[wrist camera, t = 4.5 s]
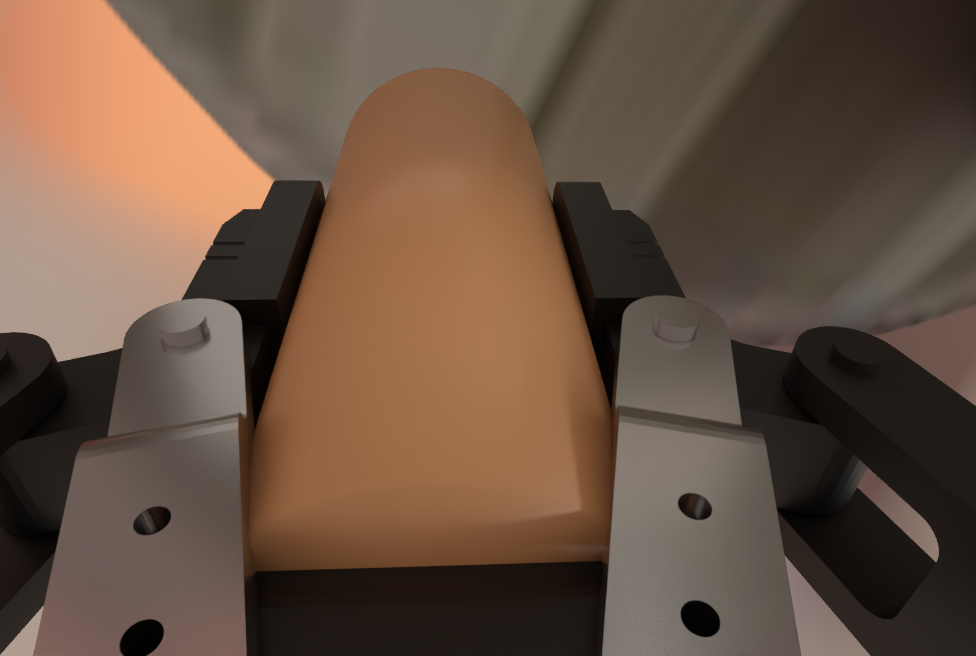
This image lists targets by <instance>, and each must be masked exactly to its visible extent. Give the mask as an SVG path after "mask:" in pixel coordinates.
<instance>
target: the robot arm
mask: <svg viewBox="0 0 976 656" xmlns="http://www.w3.org/2000/svg"><path fill="white" fill-rule="evenodd" d="M552 204H553V208H554V211H555V215H556V218H557V222H558V225H559V229H560V232H561V236H562V240H563V243H564V247H565V250H566V254H567V257H568V261H569V264H570V268H571V271H572V275H573V278H574V282H575V285H576V289H577V292H578V296H579V299H580V303H581V306H582V310H583V313H584V317H585V320H586V324H587V327H588V331H589V334H590V338H591V341H592V345H593V348H594V352H595V355H596V359H597V362H598V366H599V369H600V373H601V376H602V380H603V383H604V387H605V391H606V394H607V398H608V401H609V405H610V408H611V415H612V455H611V485H610V509H609V526H608V530H607V535H606V539H605V544H604V552H603V561H581V562H548V563H515V564H483V565H450V566H417V567H384V568H351V569H318V570H285V571H255V563H254V554H253V551H252V548H251V544H250V541H249V494H250V469H251V454H252V444H253V437H254V431H255V428H256V425H257V421H258V418H259V415H260V412H261V408H262V405H263V402H264V399H265V396H266V392H267V389H268V386H269V383H270V379H271V376H272V373H273V370H274V366H275V363H276V360H277V357H278V354H279V350H280V347H281V344H282V341H283V337H284V334H285V331H286V328H287V325H288V321H289V318H290V315H291V312H292V308H293V305H294V302H295V299H296V295H297V292H298V289H299V286H300V283H301V279H302V276H303V273H304V270H305V266H306V263H307V260H308V257H309V253H310V250H311V247H312V244H313V241H314V237H315V234H316V231H317V228H318V224H319V221H320V218H321V215H322V211H323V208H324V205H325V196H324V190H323V186H322V183H321V182H320V181H274V182H273V184H272V186H271V189H270V190H269V193H268V195H267V197H266V199H265V201H264V203H263V205H262V208H261V209H244V210H242V211H241V212H239V213H238V214H237V215H235V216H234V217H232V218H231V219H230V220H228V221H227V222H225V223H224V224H223V225H222V227H221V228H220V230H219V232H218V234H217V236H216V238H215V239H214V241H213V245H212V246H211V247H210V249H209V250H208V252H207V254H206V256H205V257H206V260H203V261H202V263H201V265H200V267H199V269H198V271H197V272H196V274H195V276H194V278H193V280H192V282H191V284H190V285H189V287H188V289H187V291H186V293H185V295H184V297H183V298H182V300H181V301H176V302H172V303H169V304H165V305H163V306H160V307H157V308H156V309H153V310H151V311H149V312H148V313H146V314H145V315H143V316H141V317H140V318H139V319H138V320H136V321H135V322H134V323H133V324H132V325H131V327H130V328H129V329H128V331H127V333H126V335H125V338H124V343H123V348H121V349H118V350H113V351H110V352H105V353H100V354H96V355H90V356H86V357H81V358H76V359H71V360H67V361H61V362H57V360H56V358H55V356H54V354H53V351H52V349H51V347H50V345H49V344H48V342H47V341H46V340H45V339H43V338H41V337H39V336H36V335H33V334H28V333H16V332H11V333H0V654H1V653H2V652H3V651H4V650H5V648H6V647H7V646H8V645H9V644H10V643H11V642H12V641H13V640H14V638H15V637H16V636H17V635H18V634H19V633H20V632H21V630H22V629H23V628H24V627H25V626H26V625H27V624H28V622H29V621H30V620H31V619H32V618H33V617H34V616H35V614H36V613H37V612H38V611H39V610H40V609H41V607H42V606H43V605H44V608H43V612H42V617H41V621H40V626H39V631H38V636H37V641H36V645H35V649H34V654H33V656H801V651H800V645H799V640H798V633H797V627H796V621H795V615H794V609H793V604H792V597H791V591H790V586H789V580H788V574H787V568H786V562H785V556H786V557H787V558H788V560H789V561H790V562H791V563H792V564H793V565H794V567H795V568H796V569H797V570H798V571H799V572H800V574H801V575H802V576H803V577H804V578H805V579H806V581H807V582H808V583H809V584H810V585H811V586H812V588H813V589H814V590H815V591H816V592H817V593H818V595H819V596H820V597H821V598H822V599H823V600H824V602H825V603H826V604H827V605H828V606H829V607H830V609H831V610H832V611H833V612H834V613H835V615H836V616H837V617H838V618H839V619H840V620H841V622H842V623H843V624H844V625H845V626H846V627H847V629H848V630H849V631H850V632H851V633H852V634H853V636H854V637H855V638H856V639H857V640H858V641H859V643H860V644H861V645H862V646H863V647H864V648H865V650H866V651H867V652H868V653H869V654H870V655H871V656H976V406H975V405H974V404H972V403H971V402H969V401H968V400H967V399H965V398H963V397H962V396H961V395H960V394H958V393H957V392H955V391H954V390H953V389H951V388H950V387H949V386H947V385H946V384H944V383H943V382H942V381H940V380H939V379H937V378H936V377H935V376H933V375H932V374H930V373H929V372H928V371H926V370H925V369H924V368H922V367H921V366H919V365H918V364H917V363H915V362H914V361H912V360H911V359H910V358H908V357H907V356H905V355H904V354H903V353H901V352H900V351H898V350H897V349H896V348H894V347H893V346H891V345H890V344H888V343H887V342H885V341H883V340H881V339H879V338H877V337H874V336H872V335H870V334H867V333H864V332H861V331H858V330H854V329H849V328H843V327H833V326H826V327H817V328H813V329H810V330H807V331H805V332H804V333H802V334H801V335H800V336H799V337H798V339H797V341H796V344H795V346H794V349H793V351H792V353H787V352H782V351H777V350H771V349H767V348H762V347H757V346H752V345H748V344H743V343H740V342H737V341H734V340H731V339H730V333H729V329H728V327H727V325H726V323H725V321H724V320H723V319H722V318H721V317H720V316H719V315H718V314H717V313H716V312H714V311H713V310H711V309H710V308H708V307H706V306H704V305H702V304H700V303H698V302H695V301H693V300H689V299H686V297H685V295H684V293H683V291H682V289H681V287H680V285H679V283H678V282H677V280H676V278H675V276H674V274H673V272H672V270H671V268H670V266H669V264H668V262H667V260H666V259H664V254H663V252H662V250H661V248H660V246H659V245H657V240H656V238H655V236H654V234H653V232H652V230H651V228H650V226H649V225H648V224H647V223H646V222H644V221H643V220H642V219H640V218H639V217H638V216H636V215H635V214H634V213H632V212H631V211H630V210H612V208H611V206H610V204H609V201H608V199H607V197H606V194H605V192H604V190H603V188H602V185H601V183H600V182H557V183H556V185H555V188H554V194H553V203H552ZM868 468H869V469H870V470H872V471H873V472H874V473H875V474H876V475H877V476H878V477H879V478H880V479H881V480H883V481H884V482H885V483H886V484H887V485H888V486H889V487H890V488H891V489H892V490H893V491H895V492H896V493H897V494H898V495H899V496H900V497H901V498H902V499H903V500H905V502H907V503H908V504H909V505H910V506H911V507H912V508H913V509H914V510H915V511H916V512H918V513H919V514H920V515H921V516H922V517H923V518H924V519H925V520H926V522H927V523H928V524H929V525H930V527H931V529H932V530H933V532H934V534H935V536H936V538H937V542H938V546H939V557H938V560H937V562H935V561H934V560H933V559H932V558H931V557H930V556H929V555H928V554H926V553H925V552H924V551H923V550H922V549H921V548H920V547H919V546H918V545H917V544H916V543H915V542H914V541H913V540H912V539H911V538H910V537H909V536H908V535H907V534H905V533H904V532H903V531H902V530H901V529H900V528H899V527H898V526H897V525H896V524H895V523H894V522H893V521H892V520H891V519H890V518H889V517H888V516H887V515H886V514H885V513H884V512H882V511H881V510H880V509H879V508H878V507H877V506H876V505H875V504H874V503H873V502H872V501H871V500H870V499H869V498H868V497H867V496H866V495H865V494H864V493H862V491H860V490H859V489H858V488H857V486H858V485H859V483H860V481H861V479H862V478H863V476H864V474H865V472H866V470H867V469H868ZM784 555H785V556H784Z"/></svg>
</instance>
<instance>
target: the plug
mask: <svg viewBox="0 0 976 656" xmlns="http://www.w3.org/2000/svg"><path fill="white" fill-rule="evenodd" d="M611 455H612V415H611V408H610V405H609V401H608V398H607V394H606V391H605V387H604V383H603V380H602V376H601V373H600V369H599V366H598V362H597V359H596V355H595V352H594V348H593V345H592V341H591V338H590V334H589V331H588V327H587V324H586V320H585V317H584V313H583V310H582V306H581V303H580V299H579V296H578V292H577V289H576V285H575V282H574V278H573V275H572V271H571V268H570V264H569V261H568V257H567V254H566V250H565V247H564V243H563V240H562V236H561V232H560V229H559V225H558V222H557V218H556V215H555V211H554V208H553V204H552V201H551V197H550V194H549V190H548V187H547V183H546V180H545V176H544V173H543V169H542V166H541V162H540V159H539V155H538V152H537V148H536V145H535V141H534V138H533V134H532V131H531V129H530V126H529V124H528V122H527V120H526V118H525V117H524V115H523V113H522V112H521V110H520V109H519V107H518V106H517V105H516V104H515V103H514V101H513V100H512V99H511V98H510V97H509V96H508V95H507V94H506V93H505V92H503V91H502V90H501V89H499V88H498V87H497V86H495V85H494V84H492V83H491V82H489V81H487V80H485V79H483V78H481V77H479V76H476V75H474V74H471V73H468V72H465V71H460V70H455V69H447V68H429V69H421V70H416V71H412V72H409V73H406V74H403V75H400V76H398V77H396V78H394V79H392V80H390V81H388V82H386V83H385V84H383V85H382V86H380V87H379V88H377V89H376V90H375V91H374V92H373V93H372V94H371V95H370V96H369V97H368V98H367V99H366V100H365V101H364V102H363V104H362V105H361V106H360V107H359V109H358V110H357V112H356V114H355V115H354V117H353V119H352V121H351V123H350V126H349V128H348V131H347V134H346V137H345V140H344V144H343V147H342V150H341V153H340V157H339V160H338V163H337V166H336V170H335V173H334V176H333V179H332V182H331V186H330V189H329V192H328V195H327V199H326V202H325V205H324V208H323V211H322V215H321V218H320V221H319V224H318V228H317V231H316V234H315V237H314V241H313V244H312V247H311V250H310V253H309V257H308V260H307V263H306V266H305V270H304V273H303V276H302V279H301V283H300V286H299V289H298V292H297V295H296V299H295V302H294V305H293V308H292V312H291V315H290V318H289V321H288V325H287V328H286V331H285V334H284V337H283V341H282V344H281V347H280V350H279V354H278V357H277V360H276V363H275V366H274V370H273V373H272V376H271V379H270V383H269V386H268V389H267V392H266V396H265V399H264V402H263V405H262V408H261V412H260V415H259V418H258V421H257V425H256V428H255V431H254V437H253V444H252V454H251V469H250V494H249V541H250V544H251V548H252V551H253V554H254V563H255V571H285V570H318V569H351V568H384V567H417V566H450V565H483V564H515V563H548V562H581V561H603V552H604V544H605V539H606V535H607V530H608V526H609V509H610V485H611Z"/></svg>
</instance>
